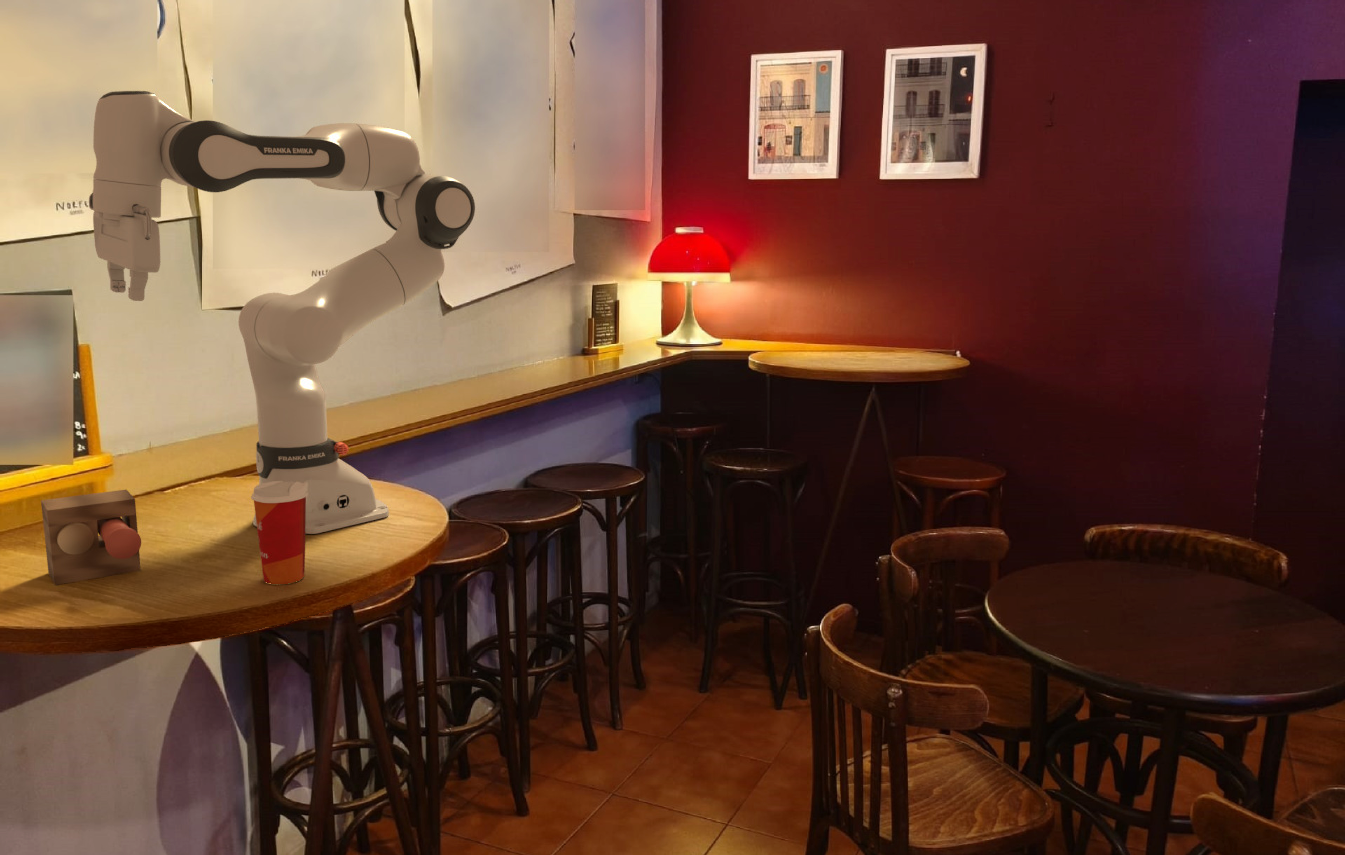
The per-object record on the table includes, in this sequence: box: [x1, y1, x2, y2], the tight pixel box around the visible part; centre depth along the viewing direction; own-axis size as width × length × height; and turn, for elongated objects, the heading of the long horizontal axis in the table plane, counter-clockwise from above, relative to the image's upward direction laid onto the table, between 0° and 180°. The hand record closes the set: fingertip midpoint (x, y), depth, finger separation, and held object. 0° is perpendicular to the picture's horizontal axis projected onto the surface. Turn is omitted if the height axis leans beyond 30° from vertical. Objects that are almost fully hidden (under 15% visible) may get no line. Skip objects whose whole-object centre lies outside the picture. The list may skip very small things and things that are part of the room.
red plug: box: [97, 517, 142, 559], centre depth 144 cm, size 4×11×4 cm, turn 39°
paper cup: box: [250, 481, 308, 586], centre depth 145 cm, size 8×8×14 cm
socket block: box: [40, 489, 142, 586], centre depth 146 cm, size 11×7×11 cm, turn 129°
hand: (126, 296), depth 151 cm, fingers open, 8 cm apart
